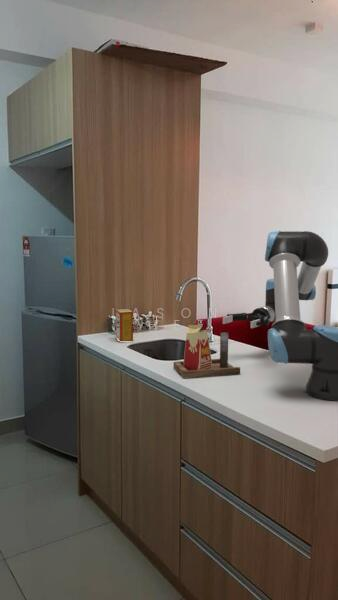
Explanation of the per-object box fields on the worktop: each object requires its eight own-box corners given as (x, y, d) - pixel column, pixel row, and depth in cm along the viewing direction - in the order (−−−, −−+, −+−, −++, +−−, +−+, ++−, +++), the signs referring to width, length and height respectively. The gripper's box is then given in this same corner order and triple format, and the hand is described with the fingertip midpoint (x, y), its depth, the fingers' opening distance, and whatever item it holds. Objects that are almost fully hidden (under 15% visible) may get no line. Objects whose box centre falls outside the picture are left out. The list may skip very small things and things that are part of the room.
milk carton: (212, 371, 193) (213, 322, 190) (198, 376, 187) (198, 325, 184) (195, 367, 199) (196, 319, 197) (180, 372, 193) (180, 322, 190)
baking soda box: (132, 342, 245) (132, 311, 243) (120, 343, 243) (120, 311, 241) (128, 338, 254) (127, 308, 252) (116, 339, 252) (115, 308, 250)
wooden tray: (240, 374, 190) (241, 336, 187) (183, 378, 184) (184, 339, 182) (226, 364, 204) (226, 329, 202) (173, 367, 198) (173, 331, 196)
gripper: (287, 327, 210) (263, 335, 194) (238, 320, 226) (212, 327, 210) (288, 310, 209) (264, 317, 193) (239, 304, 225) (212, 310, 209)
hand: (237, 322), depth 201 cm, fingers open, 13 cm apart
